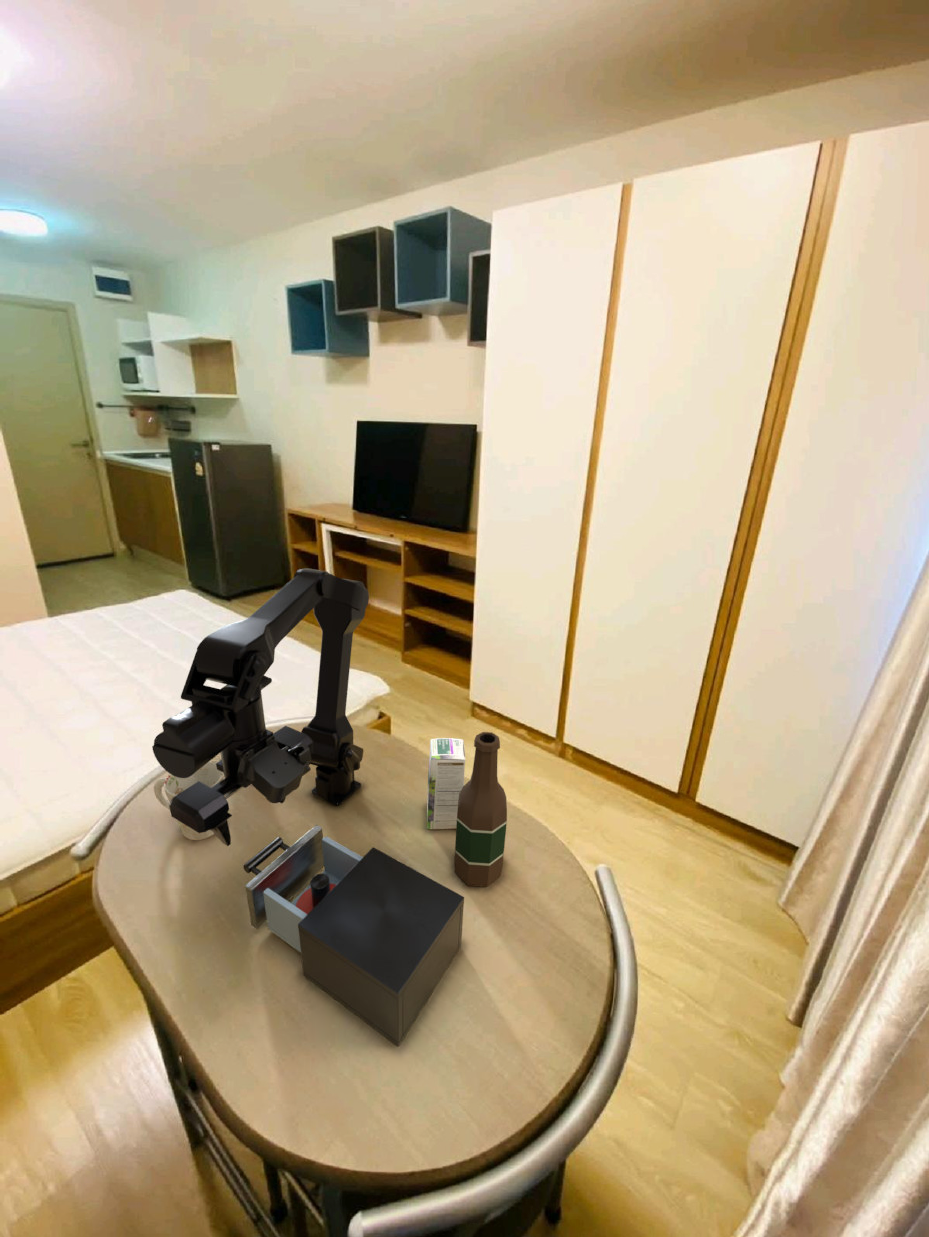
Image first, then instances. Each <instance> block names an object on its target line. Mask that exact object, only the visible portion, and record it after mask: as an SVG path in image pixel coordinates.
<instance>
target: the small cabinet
mask: <svg viewBox="0 0 929 1237" xmlns="http://www.w3.org/2000/svg"><path fill="white" fill-rule="evenodd" d="M362 857H363V858H362V859H361V860H360V861H359V862H358V863H357V864H356V865H355V866H354V867H353V868H352V869H351V870H350V871H349V872H348V873H347V874H346V875H345V877H344V878H343V879H342V880H341V881H340V882H339V883H338V884H337V885H336V886H335V887H334V888H333V889H332V890H331V891H330V892H329V893H328V894H327V895H326V896H325V897H324V898H323V899H322V900H321V901H320V902H319V903H318V904H317V905H316V906H315V907H314V908H313V909H312V910H311V911H310V912H309V913H308V914H307V915H306V916H305V917H304V919H303V920H302V921H301V922H300V923H299V924H298V929H299V938H300V947H301V953H300V955H301V966H302V972H303V973H302V974H303V977H305V978H306V979H307V980H309V981H310V982H311V983H312V984H314V985H315V986H317V988H319V989H321V990H322V991H323V992H325V993H326V994H327V995H329V996H330V997H331V998H332V999H334V1000H335V1001H337V1002H338V1003H339V1004H341V1005H342V1006H343V1007H345V1008H346V1009H348V1010H349V1011H350V1012H351V1013H352V1014H354V1015H355V1016H357V1017H358V1018H359V1019H360V1020H362V1021H363V1022H365V1023H366V1024H367V1025H368V1026H370V1027H371V1028H373V1030H375V1031H377V1032H378V1033H379V1034H380V1035H381V1036H383V1037H384V1038H385V1039H386V1040H388V1041H390V1042H391V1043H392V1044H394V1045H395V1046H397V1047H398V1048H399V1047H400V1045H401V1044H402V1042H403V1041H404V1039H405V1037H406V1036H407V1034H408V1032H409V1031H410V1029H411V1028H412V1027H413V1025H414V1023H415V1022H416V1020H417V1018H418V1016H419V1015H420V1013H421V1012H422V1010H423V1008H424V1007H425V1005H426V1004H427V1002H428V1001H429V999H430V997H431V996H432V994H433V992H434V991H435V989H436V988H437V986H438V984H439V983H440V982H441V979H442V978H443V977H444V975H445V973H446V972H447V970H448V968H450V965H451V964H452V963H453V960H454V959H455V957H456V956H457V954H458V953H459V951H460V949H461V948H462V938H463V937H462V936H463V923H464V921H463V920H464V908H465V906H464V905H465V897H464V896H463V895H461V894H460V893H457V892H455V891H454V890H452V889H451V888H448V887H446V886H445V885H443V884H441V883H440V882H438V881H436V880H434V879H432V878H430V877H428V876H427V875H425V874H423V873H421V872H420V871H417V870H416V869H414V868H413V867H410V866H408V865H407V864H405V863H403V862H401V861H400V860H397V859H395V858H394V857H392V856H391V855H388V854H387V853H385V852H383V851H381V850H379V849H377V848H376V847H374V846H373V847H371V849H369V851H368V852H367V853H366V854H364V855H363V856H362Z"/></svg>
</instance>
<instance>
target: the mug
mask: <svg viewBox="0 0 929 1237" xmlns="http://www.w3.org/2000/svg"><path fill="white" fill-rule="evenodd" d="M216 763H217V762H214V761H212V760H210V761H209V762H208V763H207V764H205V765H204V766H203V767H202V768H200V769H199V770H198V771H197V772H195V773H194V774H193V775H192V776H190V777H188V778H178V777H175V776H173V775H172V774H170V773H169V774H168V776H166V777H161V778H159V779H157V780H156V782H155V783H154V786H153V793H154V796H155V798H156V799H157V801H158V802H159V803H160V805H162V806H163V807H165V808H166V809H167V810H169V811H170V808H169V804H170V800H171V799H172V798H173V797H175V796H176V795H178V794H179V793H181V792H182V791H184V790H186V789H187V788H189V787H190V786H192V785H193V784H195V783H197V782H198V781H199V782H201V783H203V784H205V785H207V786H209V787H210V788H211V787H213V786H214V785H216V784H217V783H219V782H220V781H222V780H223V779H225V776H224V773H223V772H221V771H219V770H217V767H216ZM163 789H164V792H165V795H166V797H165V796H164V795H163V793H162V790H163ZM166 798H167V799H166ZM176 821H177V823H178V825H179V828H180V831H181V834H182V835H183V836H184V838H186V839H187V840H190V841H201V840H205V839H208V838H209V837H212V836H214V835H215V834H214V833H213V832H212V830H208V831H207V832H202V833H198V832H196V831H194V830H193V829H191V828H190V827H188V826H186V825H185V824H183V823H181V822H180V821H178V820H176Z"/></svg>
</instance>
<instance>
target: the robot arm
mask: <svg viewBox="0 0 929 1237" xmlns="http://www.w3.org/2000/svg"><path fill="white" fill-rule="evenodd" d="M369 599H370V593H369V591H368V589H367V587H365V584H364V583H363V581H360V580H353V579H347V578H340V577H338V576H337V575H336V576H335V575H334V574H332V573H330V572H328V571H326V570H319V569H314V568H313V569H312V568H306V567H305V568H302V569H301V568H300V569H298V570H297V571H296V572H295V573H294V575H293V578H292V579H291V580H290V581H289V582H287V583H286V584H285V585H284V586H283V587H282V588H281V589H280V590H278V591H277V592H276V593H275V594H273V595H272V596H271V597H270V598H269V599H268V600H267V601H266V602H265V603H263V604H262V605H261V606H260V607H259V608H258V609H256V611H254V612H253V613H252V614H251V615H250V616H248V617H247V618H245V619H244V620H240V621H236V622H233V623H230V624H227V625H224V626H222V627H220V628H218V629H217V630H215V631H213V632H211V633H210V634H208V635H206V636H205V637H204V638H203V639H202V640H201V641H200V643H199V644H198V645H197V647H196V652H195V654H194V657H193V660H192V663H191V666H190V668H189V671H188V674H187V677H186V680H185V682H184V685H183V689H182V691H181V694H180V699H181V700H183V701H188V702H191V705H190V706H189V707H187V708H185V709H184V710H183V711H181V712H180V713H178V714H176V715H173V716H171V717H169V718H168V719H166V720H165V721H163V722H162V724H161V725H162V730H163V731H161V732H160V733H158V734H157V735H156V736H155V738H154V740H153V745H152V752H153V756H154V757H155V759H156V761H157V763H158V764H159V765H160V766H161V768H163V769H164V770H165V771H166V772H167V773H169V774H172V775H173V776H175V777H178V778H188V777H190V776H192V775H193V774H194V773H195V772H197V771H198V770H199V769H200V768H202V767H203V766H204V765H205V764H207V763H208V762H209V761H212V760H213V759H214V758H215V757H217V756H218V755H219V754H220V760H218V761H217V762H215V763H216V767H217V770H219V771H221V772H223V775H224V779H223V780H222V781H220V782H219V783H217V784H216V785H214V786H213V787H211V788H210V787H209V786H207V785H205V784H203V783H201V782H199V781H198V782H197V783H195V784H193V785H192V786H190V787H189V788H187V789H186V790H184V791H182V792H181V793H179V794H178V795H176V796H175V797H173V798H172V799H171V800H170V802H169V803H170V804H169V808H170V810H169V813H170V816H171V817H172V818H173V819H175V820H176V821H177V820H178V821H180V822H181V823H183V824H185V825H186V826H188V827H190V828H191V829H193V830H194V831H196V832H198V833H202V832H207V831H208V830H212V832H213V833H214V835H215V836H216V837H217V839H218V840H219V841H220V842H221V843H222V844H223V845H225V846H227V847H230V846H231V845H232V837H231V832H230V827H229V822H228V820H229V819H230V818H231V817H232V816H233V814H231V813H230V812H229V811H230V805H229V801H228V799H229V798H230V797H232V796H234V795H235V794H236V793H238V792H239V791H240V790H242V789H244V788H245V789H247V788H248V787H250V786H252V787H253V788H254V789H256V791H258V792H259V793H260V794H261V795H262V796H264V797H265V799H266V800H267V801H268V802H269V803H271V804H279V803H280V804H283V803H285V801H286V797H287V796H289V795H290V794H291V793H292V792H294V791H296V790H297V789H298V788H299V787H300V785H301V782H302V777H304V776H305V775H306V774H308V773H309V772H310V771H311V765H312V766H316V767H315V775H316V776H315V777H314V780H315V782H314V783H315V787H313V788H312V789H311V794H312V795H314V796H315V797H318V798H319V799H321V800H323V801H325V802H327V803H329V804H331V805H333V806H334V807H339V806H341V805H342V804H343V803H344V802H346V800H348V799H349V798H350V797H351V796H353V794H355V793H356V792H357V791H358V790H359V789H360V788H362V783H361V782H360V781H357V780H355V772H356V771H358V770H360V769H361V763H362V761H363V757H364V748H362V747H360V746H358V745H356V744H354V729H353V727H352V725H351V723H350V721H349V719H348V717H347V714H346V713H347V712H346V711H347V703H348V702H347V700H348V691H349V690H348V688H349V680H350V670H351V660H352V659H351V658H352V647H353V636H354V632H355V630H356V629H357V628H358V627H359V625H360V624H361V623H362V622H363V620H364V618H365V616H366V610H367V607H368V605H369V601H370V600H369ZM312 610H313V615H314V617H315V619H316V621H317V623H318V625H319V627H320V629H321V644H320V657H319V666H318V668H319V669H318V680H317V682H318V683H317V690H316V691H317V693H316V701H315V702H316V703H315V714H314V716H313V718H312V719H310V722H309V723H308V725H305V726H303V728H301V731H300V730H297V729H295V728H292V727H291V726H288V725H284V726H283V727H281V728H279V729H278V730H276V731H274V732H273V731H271V730H270V729H267V726H266V718H265V711H264V704H263V694H262V690H263V689H265V688H266V687H268V686H269V685H270V684H271V683H272V682H273V679H272V678H271V677H269V676H266V673H267V672H268V671H269V669H270V668H271V667H272V665H273V664H274V662H275V651H276V648H277V646H278V645H279V644H280V642H281V641H282V640H283V639H284V638H285V637H287V636H288V634H290V632H292V630H293V629H294V628H295V627H296V626H297V625H299V623H300V622H302V620H303V619H304V618H305V617H306V616H308V614H309V613H311V611H312ZM207 681H210V682H214V683H218V684H223V685H224V686H223V687H221V688H218V687H212V686H210V685H209V686H208V685H205V683H206V682H207ZM178 821H177V822H178Z"/></svg>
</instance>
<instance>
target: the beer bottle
mask: <svg viewBox="0 0 929 1237" xmlns="http://www.w3.org/2000/svg"><path fill="white" fill-rule="evenodd" d="M473 740H474V741H473V747H474V748H475V751H474V757H473V765H472V771H471V772H472V773H471V775H470V779H469V781H467V782H466V783H464V786H463V788H462V790H461V792H460V794H459V800H458V810H457V825H456V829H455V846H454V873H455V874H456V875H457V877H459V878H460V879H461V881H462V882H464V883H465V884H466V885H467V886H472V887H473V886H474V887H489V885H491V884H492V883H493V882H495V881H496V880H497V879H499V877H501V876H502V870H503V864H504V853H505V844H506V834H507V833H506V832H507V825H508V806H507V805H508V804H507V803H508V802H507V795H506V791H505V789H504V788H503V786H502V785H501V784H500V783H499V779H498V753H499V752H498V750H499V749H501V740H500V736H498V735H497V734H496V733H493V732H488V731H482V732H480V733H478V734H476V735H475V737H474V739H473Z"/></svg>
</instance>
